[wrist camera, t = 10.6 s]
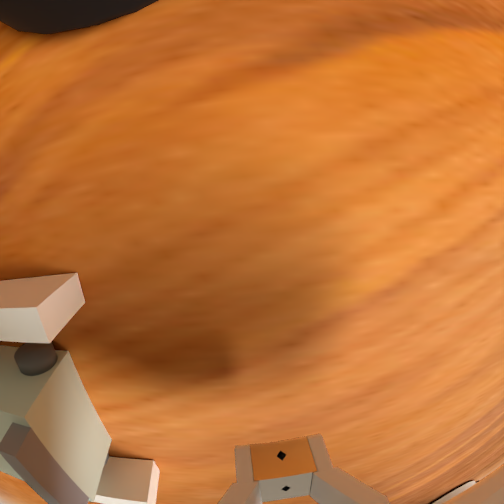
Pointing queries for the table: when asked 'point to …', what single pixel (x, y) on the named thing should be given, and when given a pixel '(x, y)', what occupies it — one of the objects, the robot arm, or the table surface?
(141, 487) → the dock bay
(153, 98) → the table surface
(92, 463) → the sage cart
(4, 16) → the coffee jar
